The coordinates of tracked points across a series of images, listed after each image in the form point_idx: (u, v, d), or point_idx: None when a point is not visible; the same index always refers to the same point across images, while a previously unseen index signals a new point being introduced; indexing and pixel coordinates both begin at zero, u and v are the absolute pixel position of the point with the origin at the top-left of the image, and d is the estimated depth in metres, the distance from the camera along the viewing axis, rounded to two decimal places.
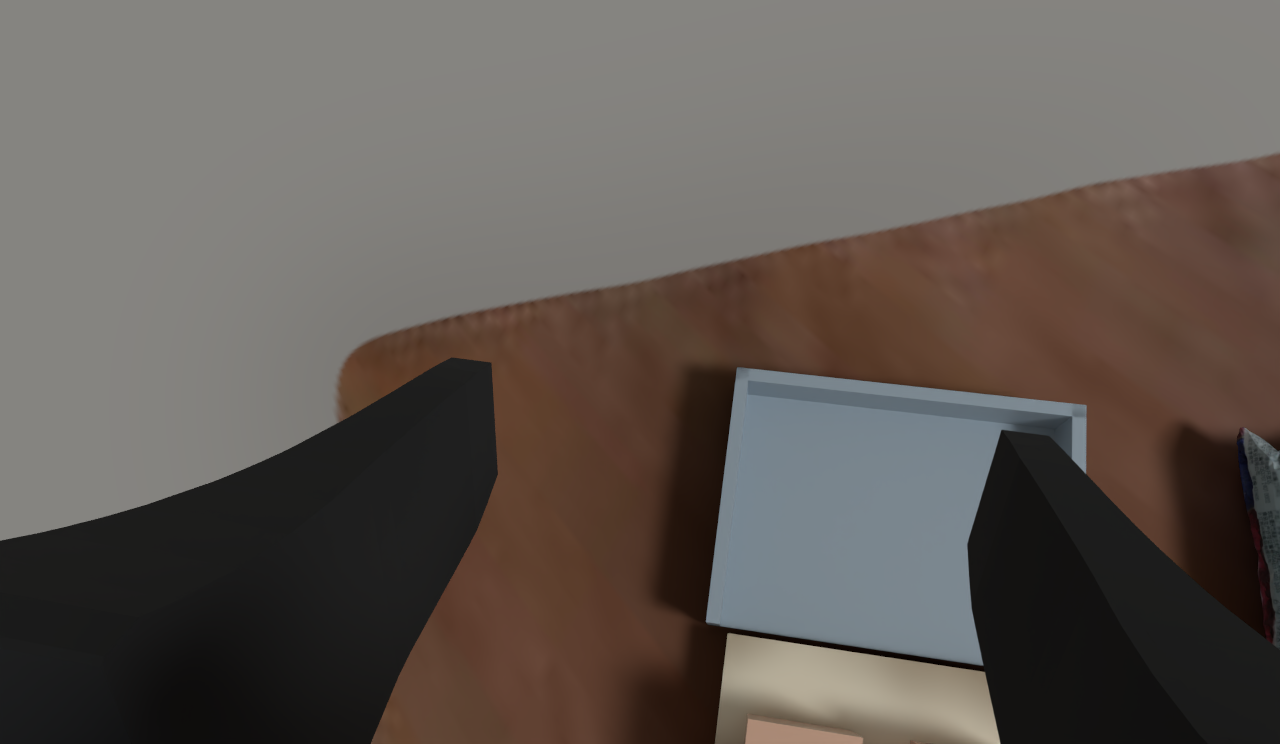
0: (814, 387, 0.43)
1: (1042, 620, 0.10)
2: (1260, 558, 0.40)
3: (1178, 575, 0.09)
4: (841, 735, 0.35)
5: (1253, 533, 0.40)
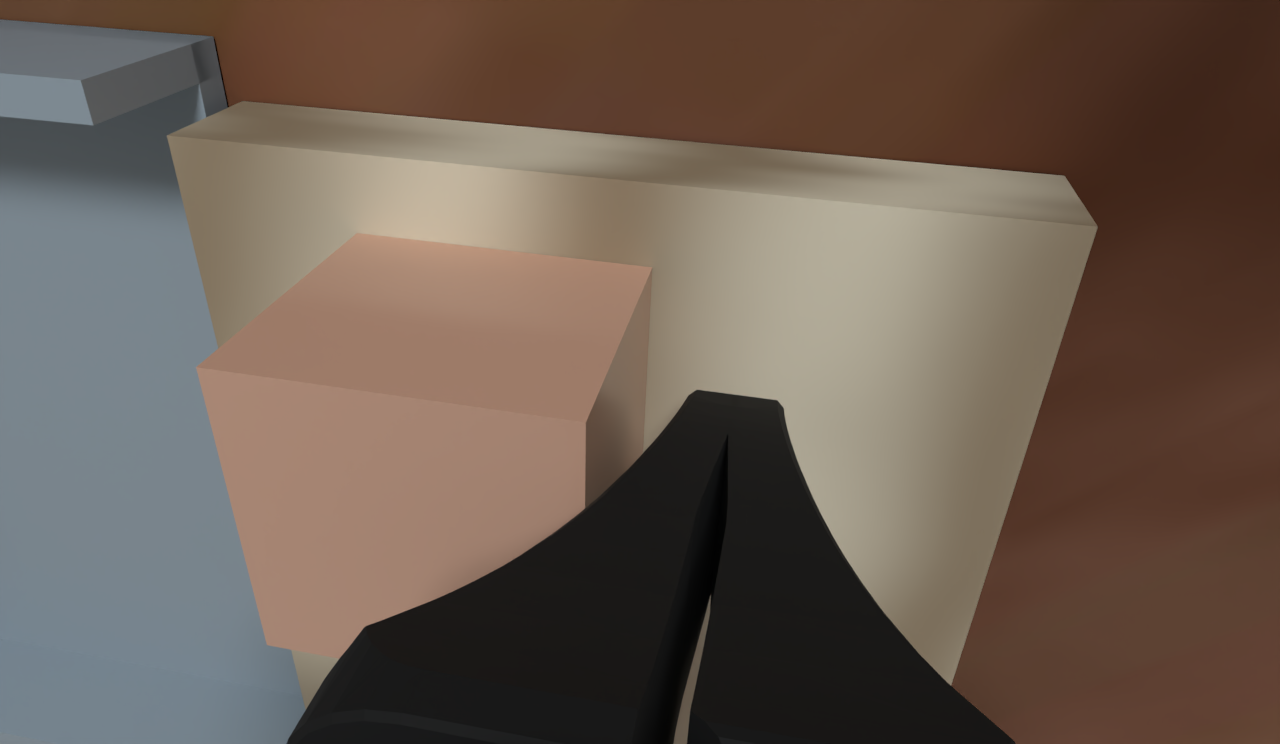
0: None
1: None
2: None
3: (810, 520, 0.09)
4: None
5: None
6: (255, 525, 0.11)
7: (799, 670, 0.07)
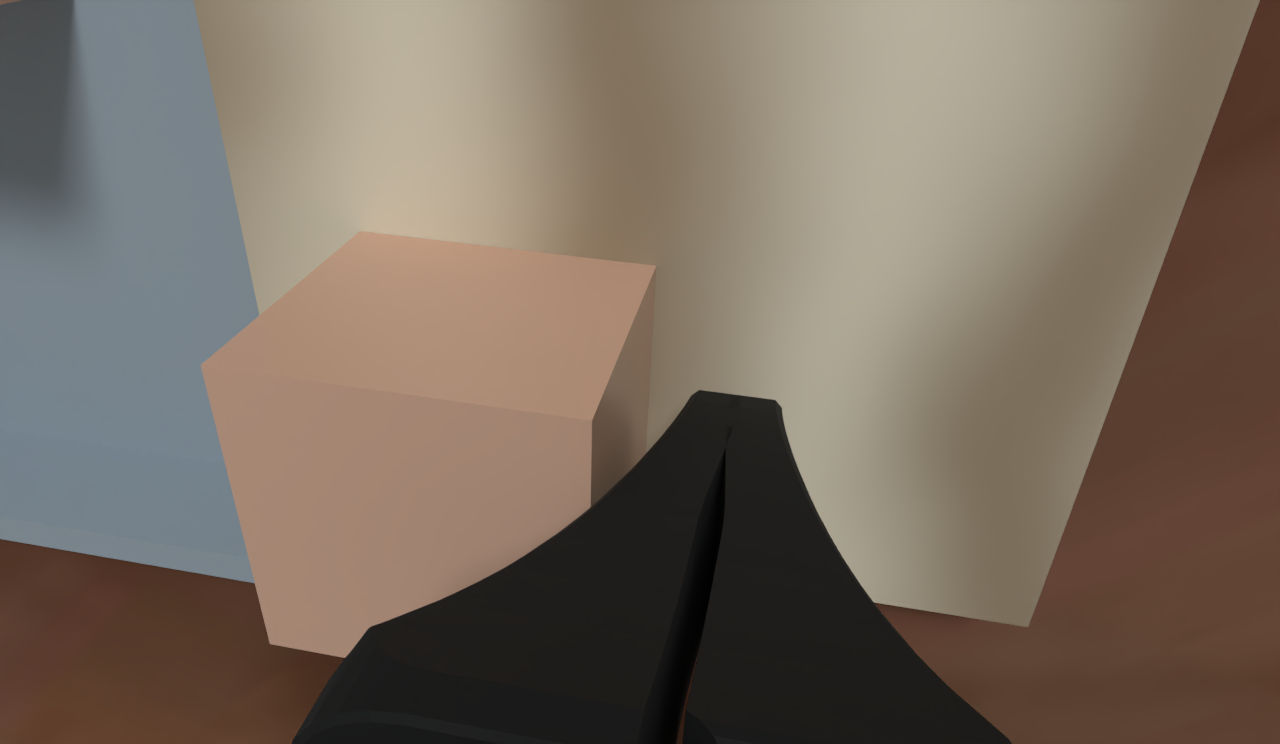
0: None
1: None
2: None
3: (807, 520, 0.09)
4: (218, 427, 0.10)
5: None
6: None
7: (793, 670, 0.07)
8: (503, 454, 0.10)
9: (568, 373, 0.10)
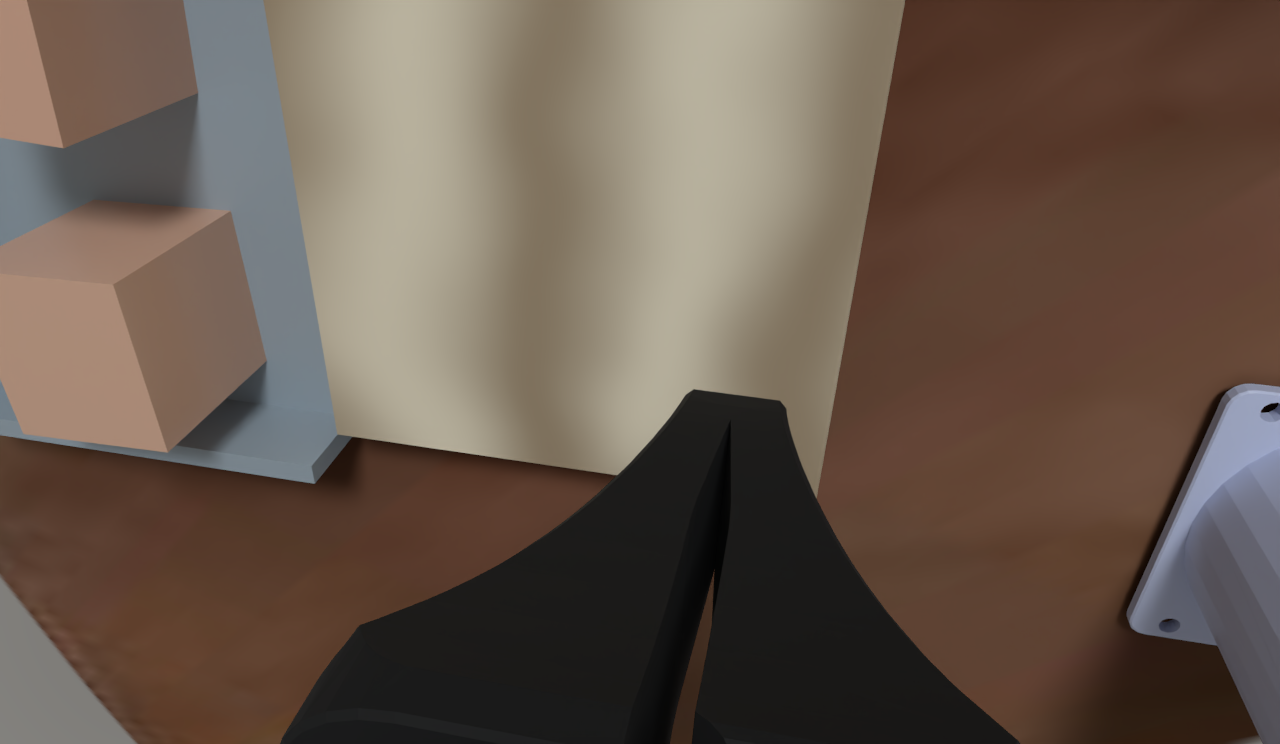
0: None
1: (721, 569, 0.10)
2: None
3: (813, 521, 0.09)
4: None
5: None
6: None
7: (803, 670, 0.07)
8: None
9: (2, 263, 0.20)
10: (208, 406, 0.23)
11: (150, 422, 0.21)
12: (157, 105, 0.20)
